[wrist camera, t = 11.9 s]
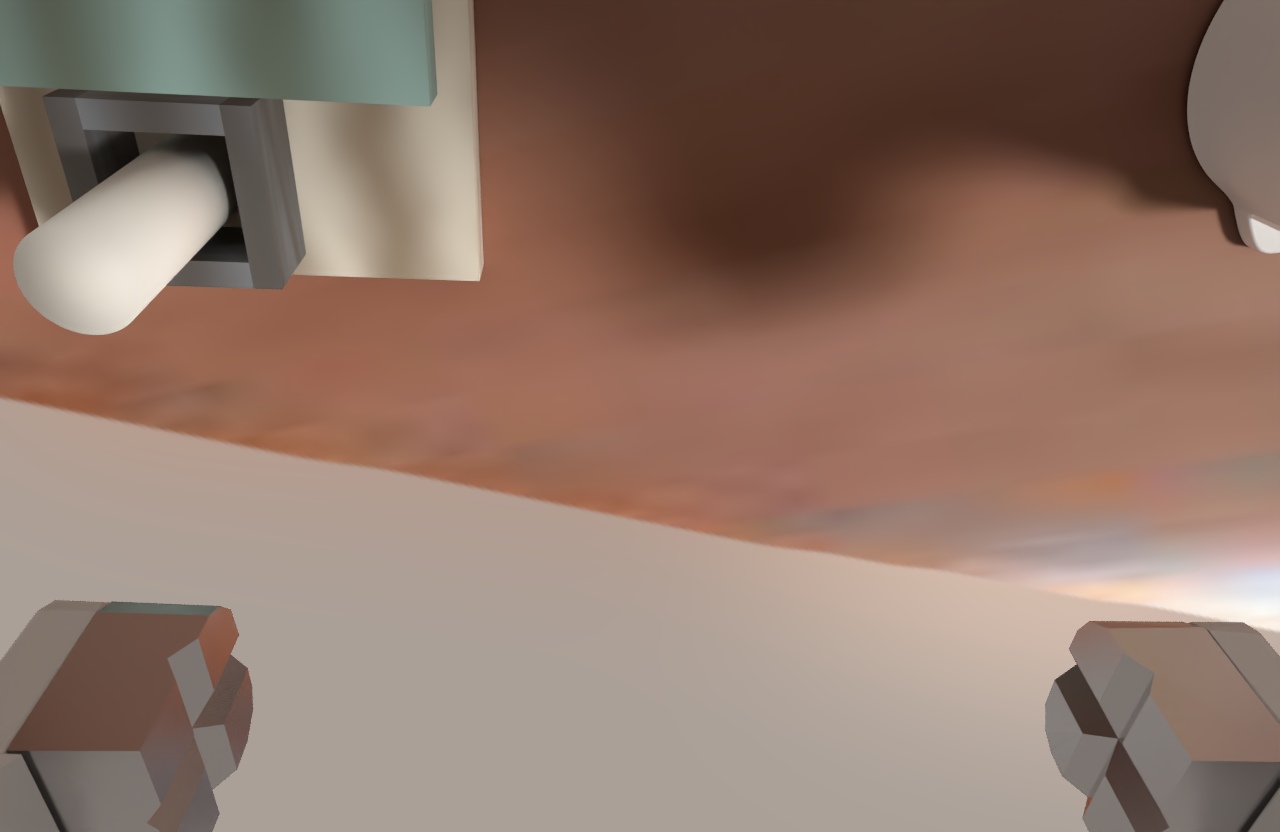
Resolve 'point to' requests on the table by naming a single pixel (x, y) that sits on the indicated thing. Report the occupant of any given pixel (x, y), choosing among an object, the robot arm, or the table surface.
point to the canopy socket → (265, 124)
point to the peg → (127, 235)
